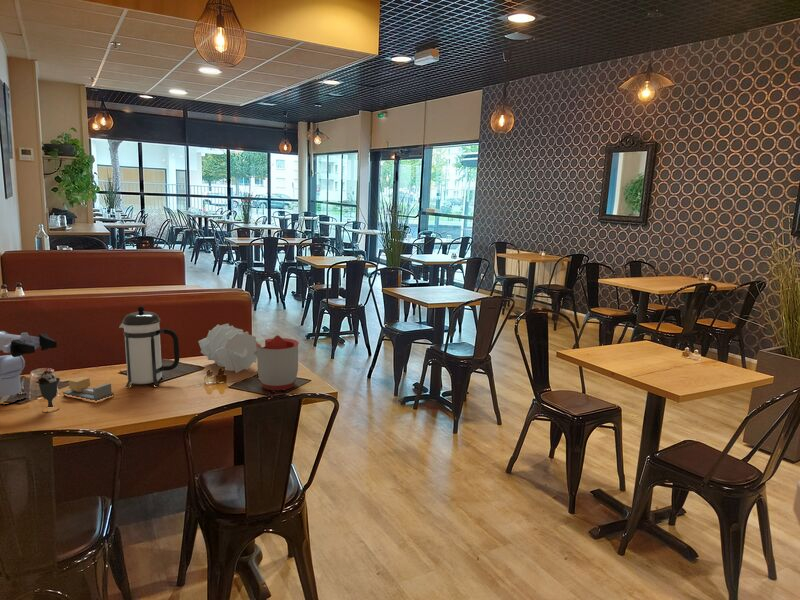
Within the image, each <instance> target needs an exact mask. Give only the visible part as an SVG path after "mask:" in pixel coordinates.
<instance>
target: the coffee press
mask: <svg viewBox="0 0 800 600" xmlns="http://www.w3.org/2000/svg"><path fill="white" fill-rule="evenodd" d="M160 322H161V317H159V315H158V314H157V313H156V312H152V311H145V308H144V306H143V305H139V306H138V307H137V311H135V312H134V311H133V312H130V313H127V314H126V315H125V316H124V318H123V319H122V322H121V323H120V325H119V329H121V328H122V329H123V336H124V345H125V346H124V347H125V359H126V374H127V375H126V376H127V382H126V384H125V388H126V387H129V386H130V385H131V386H132V387H134V385H147V384H151V385H152V386H153V387H154V385H155V386H158V387H159V386H160V385H159V381H160V380H162V379H161V377H162V376H163V377H164V375H163V372H164V371H167V372H168V371H171V370H173V369H175V368H176V369H177V366H178V365H179V363H180V345H179V343H180V342H179V341H180V340H179V337H178V334H177V333H176V332H175V330H172V329H169V328H164V329H161V327H160ZM161 334H165V335H170V337H171V338H172V342H173V356H174V357H173V358H174V360H173V363H172V364H171V365H163V364H162V348H161ZM164 378H165V377H164Z"/></svg>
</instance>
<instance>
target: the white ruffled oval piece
mask: <svg viewBox="0 0 800 600" xmlns="http://www.w3.org/2000/svg"><path fill="white" fill-rule="evenodd" d="M257 343H258V344H259V342H258V341H257V336H255V335H251V334H249V331H245V332H244V329H242V328H237V327H234V325H230V324H229V323H224V324H222V325H221V324H216V326H214V327H213V328H212V329H211V330H210V329H208V333H207V336H206V337H205V338H202V339H200V340H198V345H199V347H200V353H201V354H203V356H205V357H206V358H207V361H213V362H214V363H213V364H216V365H217V366H218V367H222V368H224V370H225V371H232V372H234V371H235V373H236V374H237V373H239V372H241V371H243V370H246V371H248V370H249V369H250V367H251V366H252V364H254V363H256V364H257V354H256V355H254V352H255V351H257V346H256V344H257Z"/></svg>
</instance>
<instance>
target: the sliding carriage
mask: <svg viewBox="0 0 800 600" xmlns="http://www.w3.org/2000/svg"><path fill="white" fill-rule="evenodd" d="M90 379H91V378H90V377H86V376H78V377H76V378H72V379H69V380H68V388H69V389H68V390H71V389H72V391H76V392H82V389H83V388H86V389H88V388H90V387H91V383H90V382H91V381H90Z"/></svg>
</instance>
